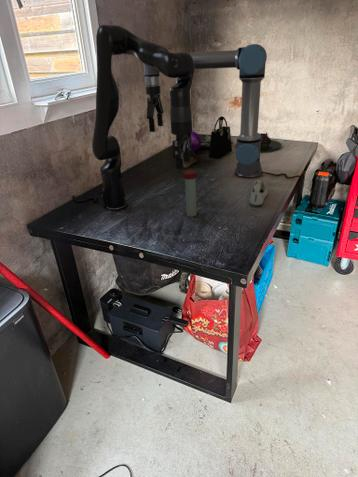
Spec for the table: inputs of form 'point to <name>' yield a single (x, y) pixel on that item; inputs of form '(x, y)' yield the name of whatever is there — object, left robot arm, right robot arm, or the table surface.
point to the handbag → (220, 140)
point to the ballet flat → (258, 193)
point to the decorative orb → (195, 141)
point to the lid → (190, 174)
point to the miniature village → (268, 144)
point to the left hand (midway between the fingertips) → (183, 164)
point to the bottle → (191, 197)
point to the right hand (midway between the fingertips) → (156, 128)
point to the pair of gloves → (207, 142)
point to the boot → (192, 159)
